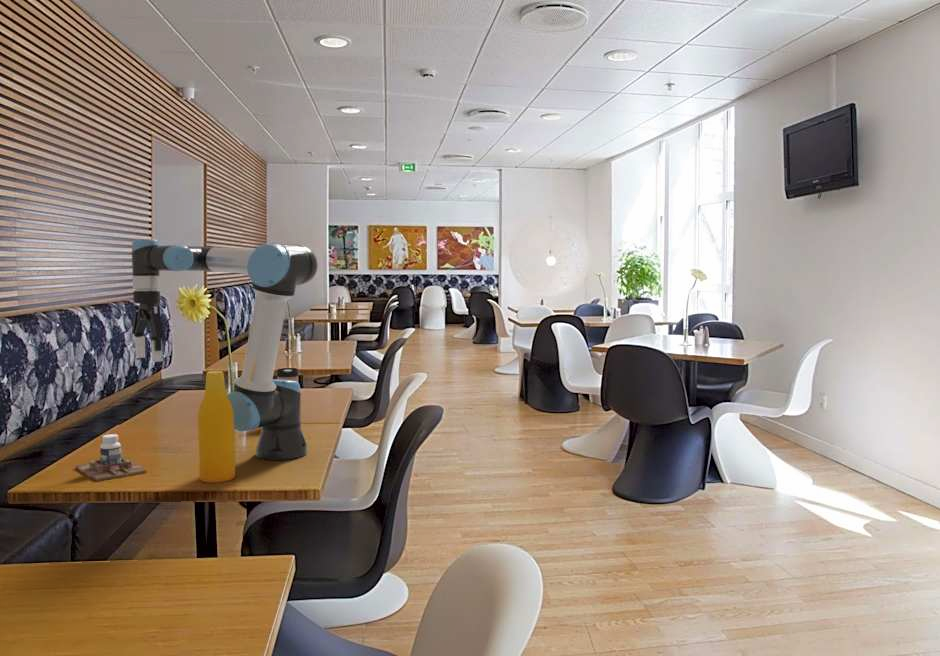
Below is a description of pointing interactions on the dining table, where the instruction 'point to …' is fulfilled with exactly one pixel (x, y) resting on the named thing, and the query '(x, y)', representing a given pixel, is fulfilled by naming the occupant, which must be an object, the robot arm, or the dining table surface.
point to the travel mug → (287, 374)
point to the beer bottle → (216, 432)
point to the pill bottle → (110, 451)
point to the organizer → (109, 469)
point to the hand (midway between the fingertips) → (148, 359)
